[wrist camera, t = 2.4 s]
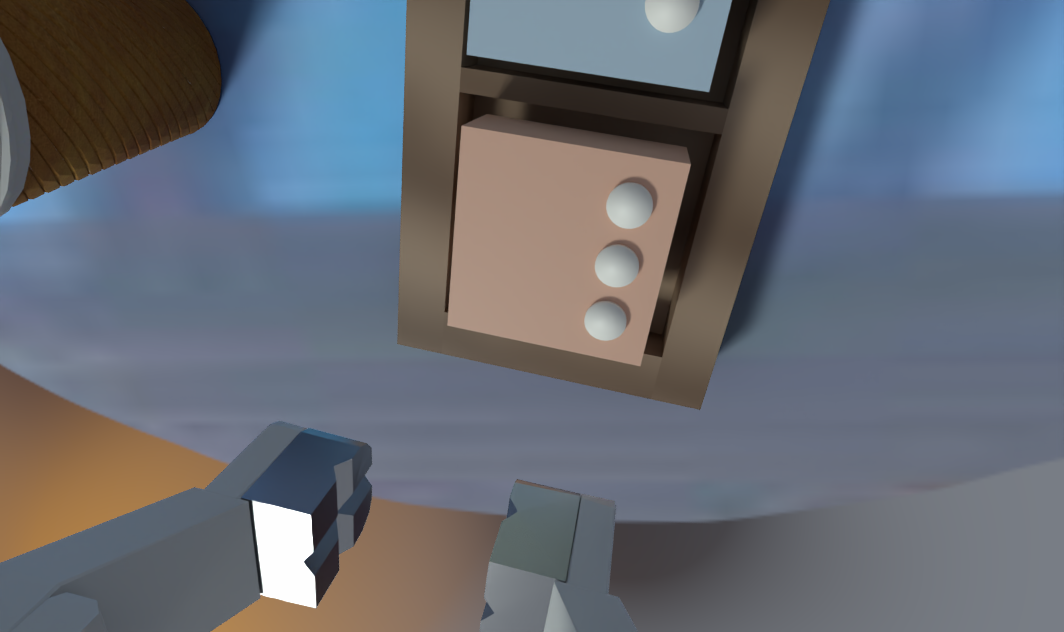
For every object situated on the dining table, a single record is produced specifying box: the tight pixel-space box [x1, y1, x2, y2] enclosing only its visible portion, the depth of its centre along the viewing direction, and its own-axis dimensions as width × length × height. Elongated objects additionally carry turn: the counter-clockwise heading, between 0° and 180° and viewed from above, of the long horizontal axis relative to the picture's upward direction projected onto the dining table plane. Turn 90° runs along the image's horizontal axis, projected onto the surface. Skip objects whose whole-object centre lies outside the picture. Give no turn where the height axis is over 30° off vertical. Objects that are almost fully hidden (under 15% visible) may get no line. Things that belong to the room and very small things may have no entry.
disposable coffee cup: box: [0, 0, 221, 216], centre depth 20 cm, size 10×10×12 cm
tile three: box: [447, 114, 691, 366], centre depth 20 cm, size 7×7×3 cm
